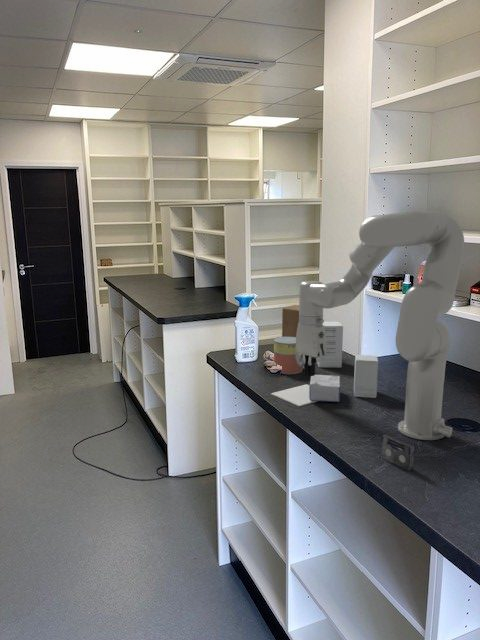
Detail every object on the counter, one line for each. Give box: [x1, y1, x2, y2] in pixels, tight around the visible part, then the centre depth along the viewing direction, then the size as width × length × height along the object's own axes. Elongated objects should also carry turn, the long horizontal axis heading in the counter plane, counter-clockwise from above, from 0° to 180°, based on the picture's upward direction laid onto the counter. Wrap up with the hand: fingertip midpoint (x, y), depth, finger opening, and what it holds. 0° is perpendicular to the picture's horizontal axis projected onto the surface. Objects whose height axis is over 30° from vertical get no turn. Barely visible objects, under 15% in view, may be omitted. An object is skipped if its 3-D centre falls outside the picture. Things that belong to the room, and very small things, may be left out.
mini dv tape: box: [380, 434, 415, 472], centre depth 125 cm, size 8×2×6 cm, turn 35°
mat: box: [270, 384, 318, 408], centre depth 172 cm, size 14×16×1 cm
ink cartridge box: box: [309, 374, 341, 403], centre depth 172 cm, size 10×6×14 cm
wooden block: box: [281, 304, 299, 337], centre depth 224 cm, size 10×10×20 cm
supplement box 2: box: [353, 354, 379, 399], centre depth 173 cm, size 7×7×13 cm
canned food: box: [273, 336, 304, 375], centre depth 200 cm, size 11×11×12 cm
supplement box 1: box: [316, 321, 344, 368], centre depth 206 cm, size 10×9×17 cm
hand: (309, 375), depth 167 cm, fingers closed
